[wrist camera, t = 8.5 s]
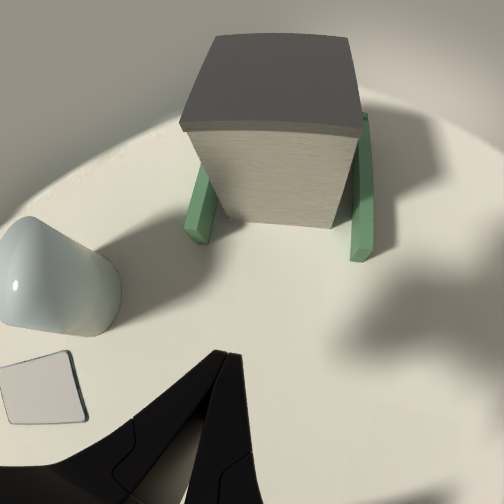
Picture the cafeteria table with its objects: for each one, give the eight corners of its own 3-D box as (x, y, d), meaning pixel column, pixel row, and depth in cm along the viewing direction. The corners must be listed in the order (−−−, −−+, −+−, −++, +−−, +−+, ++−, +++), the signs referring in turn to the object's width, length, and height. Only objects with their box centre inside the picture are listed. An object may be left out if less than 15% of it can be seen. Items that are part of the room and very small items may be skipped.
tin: (331, 230, 22) (364, 128, 11) (227, 222, 23) (178, 122, 12) (332, 146, 24) (347, 37, 13) (242, 141, 25) (216, 36, 14)
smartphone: (89, 421, 19) (9, 424, 19) (92, 420, 19) (12, 423, 20) (69, 348, 21) (-4, 368, 21) (72, 348, 22) (-1, 368, 22)
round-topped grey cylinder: (112, 347, 21) (33, 341, 13) (54, 324, 22) (-18, 309, 14) (130, 260, 23) (62, 218, 15) (71, 250, 24) (7, 214, 16)
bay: (362, 262, 21) (373, 250, 18) (195, 242, 23) (183, 228, 20) (361, 134, 24) (367, 113, 21) (226, 123, 26) (220, 102, 23)
